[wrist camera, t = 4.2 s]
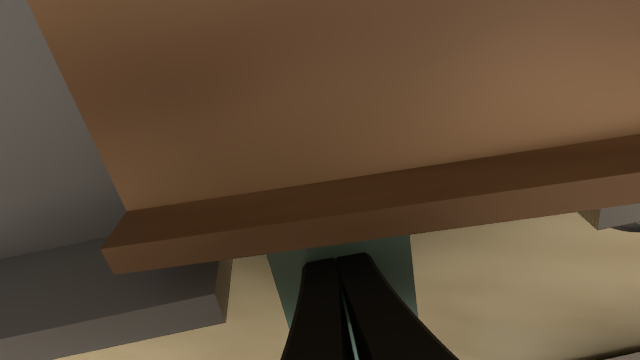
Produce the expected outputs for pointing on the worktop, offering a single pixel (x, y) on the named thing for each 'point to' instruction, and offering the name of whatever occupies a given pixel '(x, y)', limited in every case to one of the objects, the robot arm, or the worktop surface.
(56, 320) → the tray
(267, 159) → the tilt board
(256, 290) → the worktop surface
